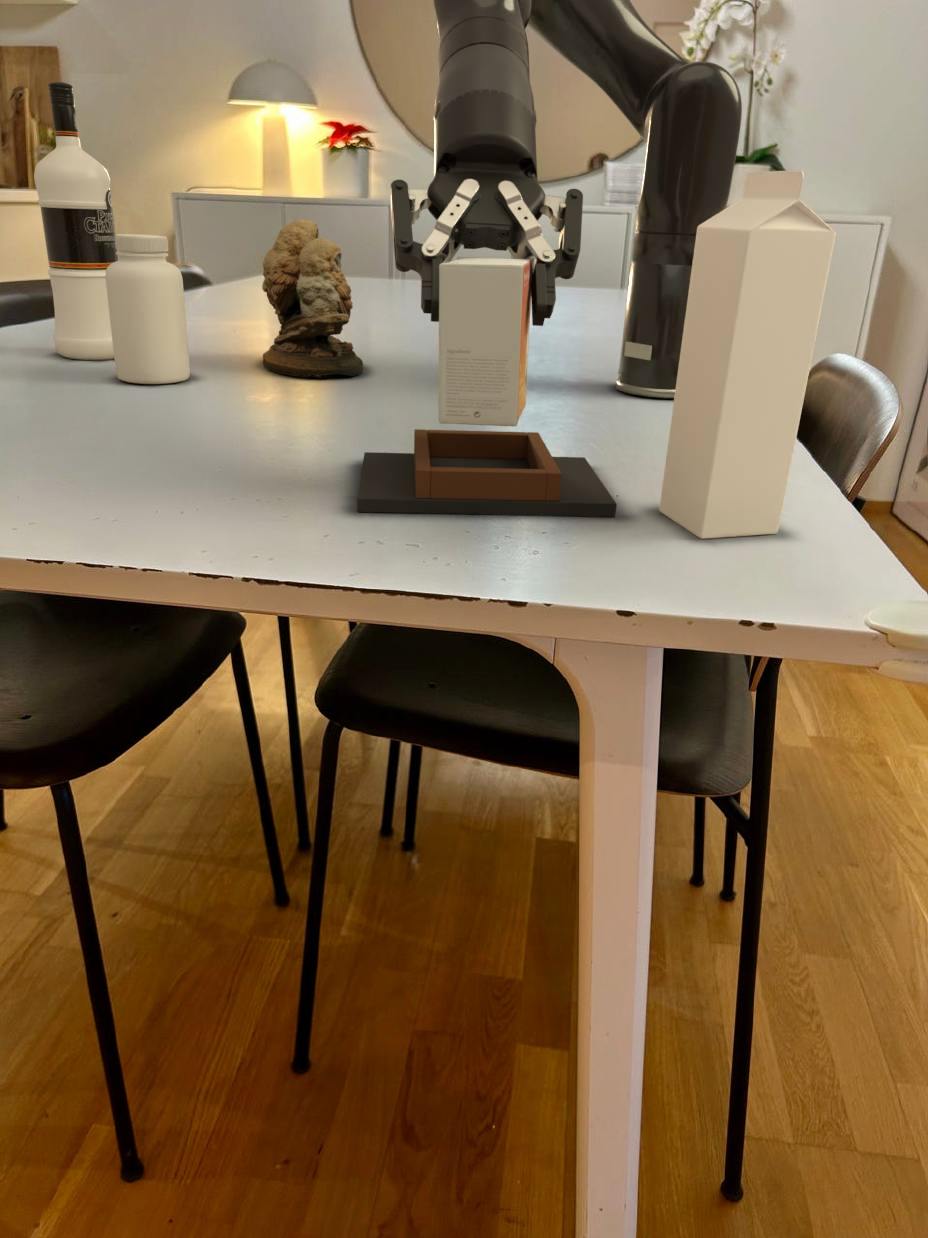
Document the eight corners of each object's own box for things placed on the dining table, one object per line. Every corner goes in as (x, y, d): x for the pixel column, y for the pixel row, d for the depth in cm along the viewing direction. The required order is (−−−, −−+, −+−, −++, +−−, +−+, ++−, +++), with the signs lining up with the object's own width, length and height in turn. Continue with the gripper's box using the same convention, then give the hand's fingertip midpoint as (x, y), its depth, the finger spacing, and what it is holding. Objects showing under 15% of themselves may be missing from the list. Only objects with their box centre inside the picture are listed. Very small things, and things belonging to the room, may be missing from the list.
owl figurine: (386, 378, 108) (387, 222, 100) (291, 383, 102) (284, 219, 95) (333, 355, 122) (330, 217, 115) (247, 358, 117) (238, 214, 109)
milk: (700, 540, 60) (757, 167, 50) (657, 511, 65) (701, 169, 55) (780, 534, 61) (849, 172, 52) (731, 506, 66) (787, 172, 57)
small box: (516, 429, 62) (524, 264, 57) (436, 424, 62) (437, 261, 58) (527, 405, 69) (535, 257, 64) (455, 401, 70) (457, 254, 65)
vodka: (72, 348, 119) (35, 84, 106) (143, 350, 119) (115, 88, 106) (44, 359, 110) (0, 75, 98) (121, 362, 111) (87, 79, 98)
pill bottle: (206, 379, 103) (195, 236, 97) (149, 388, 97) (133, 237, 91) (158, 370, 107) (145, 232, 101) (101, 378, 101) (83, 232, 94)
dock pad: (583, 468, 74) (587, 432, 73) (615, 517, 63) (620, 475, 62) (364, 464, 73) (364, 427, 72) (357, 512, 62) (356, 469, 61)
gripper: (570, 176, 71) (581, 354, 65) (388, 166, 70) (382, 346, 64) (590, 92, 64) (603, 283, 58) (387, 79, 63) (381, 273, 57)
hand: (487, 315), depth 61 cm, fingers closed on small box, 6 cm apart
